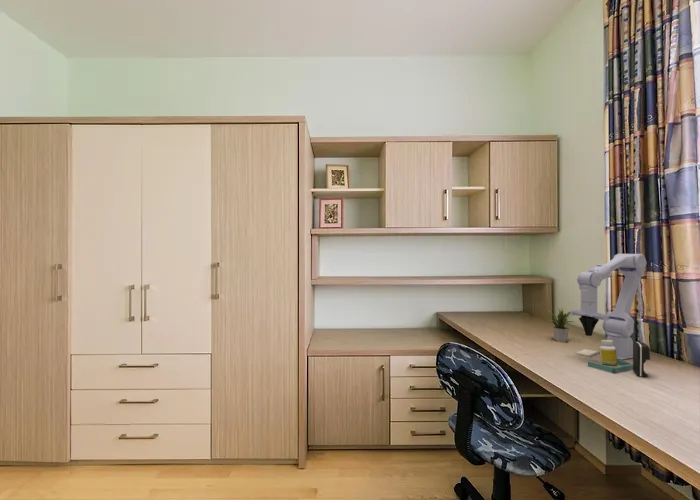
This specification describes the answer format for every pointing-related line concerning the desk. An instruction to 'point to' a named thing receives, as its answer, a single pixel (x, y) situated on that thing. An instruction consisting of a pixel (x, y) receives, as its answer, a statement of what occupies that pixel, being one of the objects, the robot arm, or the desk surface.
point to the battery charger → (640, 357)
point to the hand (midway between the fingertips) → (588, 335)
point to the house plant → (560, 326)
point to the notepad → (588, 353)
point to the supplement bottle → (608, 353)
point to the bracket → (624, 367)
